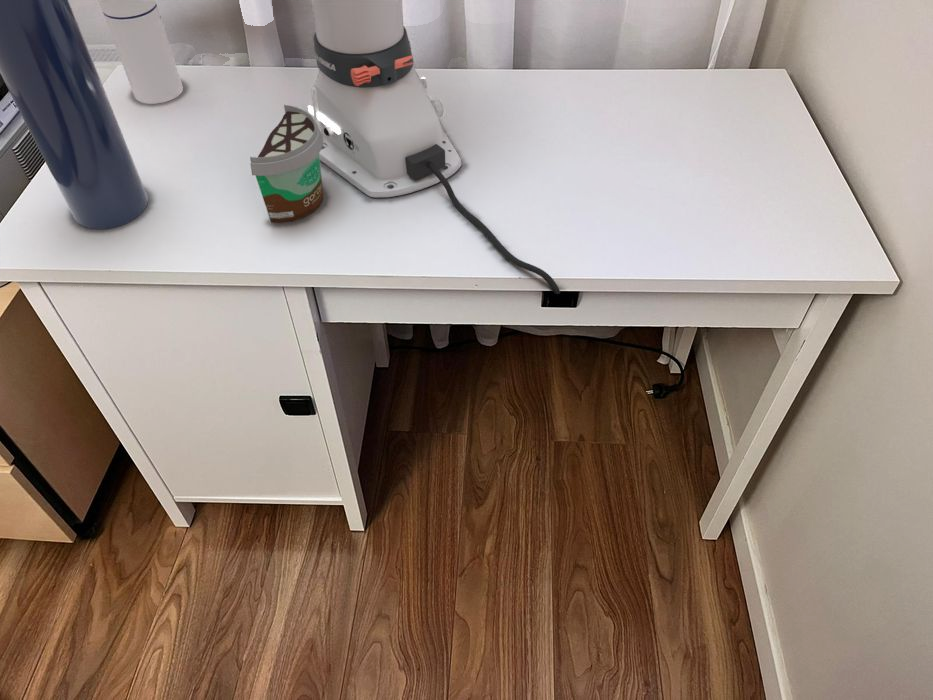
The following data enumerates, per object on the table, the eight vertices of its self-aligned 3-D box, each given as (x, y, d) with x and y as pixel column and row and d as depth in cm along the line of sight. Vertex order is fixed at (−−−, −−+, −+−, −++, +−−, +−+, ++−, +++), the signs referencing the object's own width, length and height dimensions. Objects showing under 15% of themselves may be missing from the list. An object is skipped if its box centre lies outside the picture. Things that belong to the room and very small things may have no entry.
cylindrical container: (127, 103, 108) (55, -83, 89) (143, 78, 113) (78, -103, 94) (175, 104, 108) (113, -83, 89) (188, 79, 113) (132, -103, 94)
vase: (156, 213, 91) (25, -115, 64) (82, 238, 88) (-90, -96, 61) (137, 177, 96) (8, -142, 69) (66, 198, 93) (-99, -126, 66)
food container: (315, 235, 88) (300, 165, 81) (266, 230, 89) (248, 160, 81) (344, 176, 96) (333, 107, 89) (299, 171, 97) (285, 102, 89)
